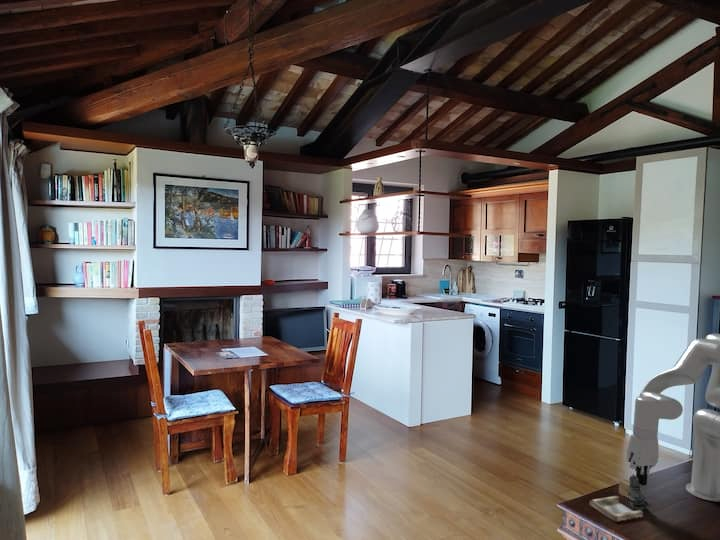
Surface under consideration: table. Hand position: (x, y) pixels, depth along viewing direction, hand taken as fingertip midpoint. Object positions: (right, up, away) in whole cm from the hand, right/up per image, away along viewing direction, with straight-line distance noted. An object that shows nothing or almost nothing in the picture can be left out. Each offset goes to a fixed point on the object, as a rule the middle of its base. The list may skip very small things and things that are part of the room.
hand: (641, 483), depth 184 cm
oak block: (0, -8, +9) cm, 12 cm away
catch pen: (-10, -8, -3) cm, 14 cm away
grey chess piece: (-1, -8, 0) cm, 8 cm away
